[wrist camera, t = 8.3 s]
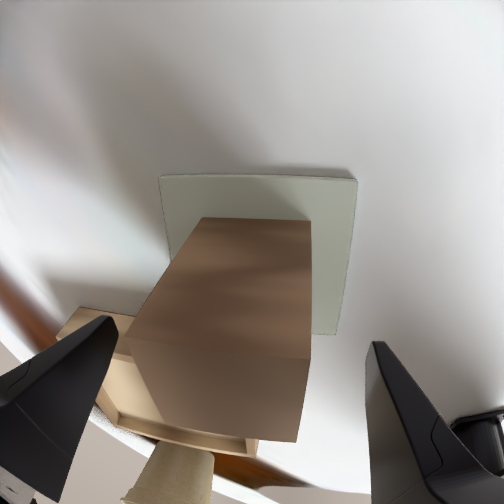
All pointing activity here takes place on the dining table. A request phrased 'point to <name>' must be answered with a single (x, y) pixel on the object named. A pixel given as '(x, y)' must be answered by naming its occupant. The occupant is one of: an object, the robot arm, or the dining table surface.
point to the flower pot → (174, 477)
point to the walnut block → (231, 329)
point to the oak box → (145, 397)
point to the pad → (274, 207)
